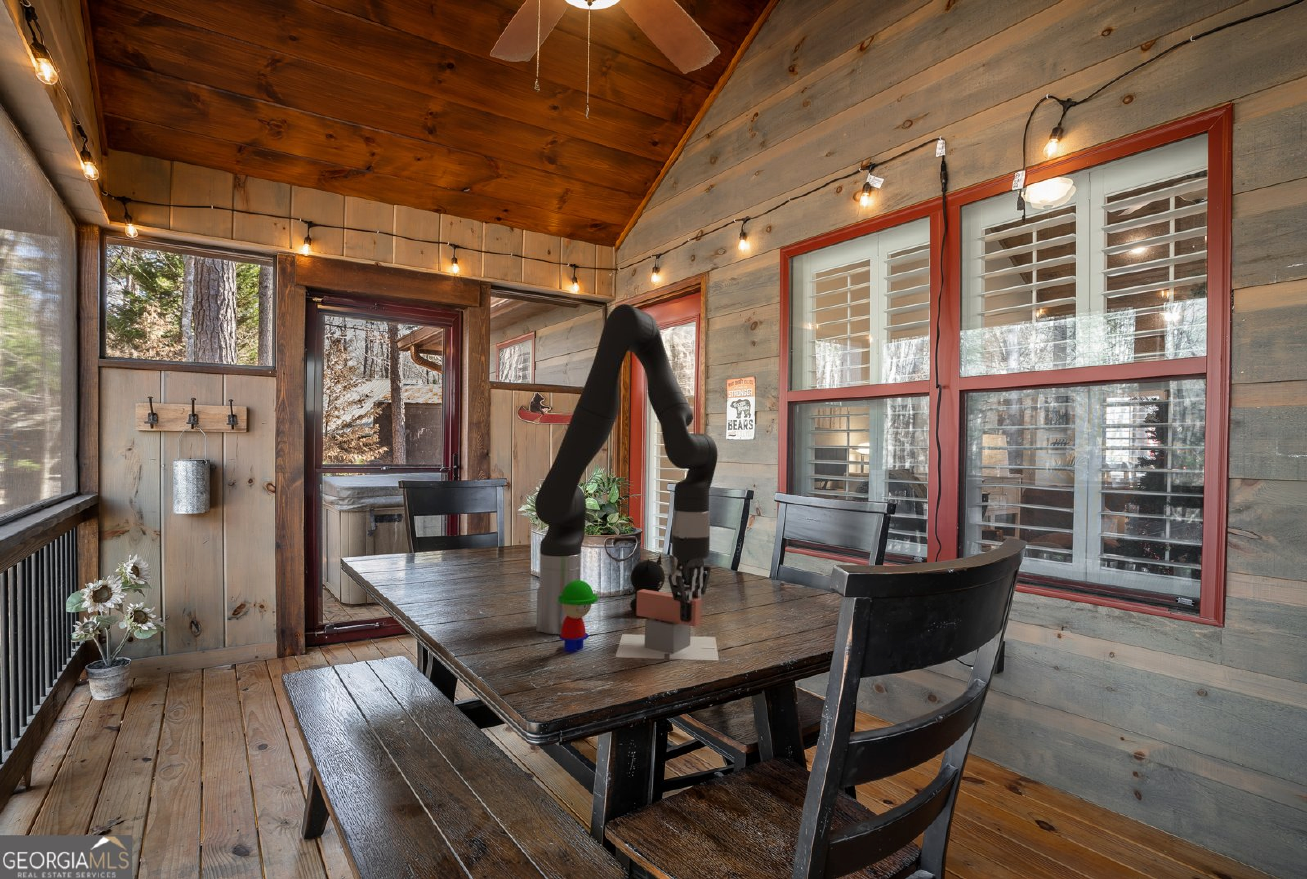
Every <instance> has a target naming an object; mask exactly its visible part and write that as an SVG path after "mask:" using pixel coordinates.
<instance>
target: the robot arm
mask: <svg viewBox="0 0 1307 879" xmlns="http://www.w3.org/2000/svg"><path fill="white" fill-rule="evenodd" d="M604 322H605V323H604V326H603V328H602V331H601V335H600V339H599V342H598V345H597V349H596V353H595V356H594V360H593V363H592V364H591V368H590V371H589V374H588V376H587V379H586V381H585V384H584V385H583V386H584V387H583V390H582V392H581V393H580V397H579V398H578V400H577V402H576V403H577V404H576V405H575V408H574V410H573V413H572V416H571V419H570V421H569V424H568V426H567V428H566V431H565V434H564V436H563V438H562V441H561V443H560V446H559V449H558V451H557V455H556V457H555V459H554V461H553V462H552V465H551V467H550V469H549V471H548V473H547V474H546V476H545V478H544V480H543V482H542V484H541V486H540V488H539V489H538V491H537V494H536V496H535V500H534V501H535V503H534V504H535V505H534V509H535V510H534V511H535V513H536V515H537V517H538V519H539V520H540V522H542V523H544V524H546V525H548V528H547V532H546V534H545V536H544V537H543V538H542V539H541V541H540V544H539V546H540V547H539V587H538V588H537V590H536V629H535V630H536V632H540V633H545V634H548V635H560V634H561V629H562V625H563V622H564V619H565V618H566V616H567V615H566V614H565V612H564V611H563V608H562V603H560V602H559V601H558V596H559V595H561V594H562V592H563V589H564V588H565V586H566V585H567V584H568V583H570V582H572V581H575V580H581V573H582V572H581V570H582V568H581V567H582V565H581V564H582V563H581V562H582V545H583V542H584V540H585V534H586V517H587V515H586V514H587V502H586V501H587V500H586V496H585V493H584V491H583V489H582V488H581V487H580V485H579V484H580V482H581V478H582V477H583V474H584V473H585V470H586V469H587V467H588V466H589V465H590V463H591V462H592V461H593V459H594V458H595V457H596V456H597V454H598V453H599V452H600V451H601V449H602V448H603V446H604V445H605V443H606V442H607V441H608V439H609V436H610V434H611V432H612V430H613V427H614V424H615V422H616V419H617V418H618V414H619V411H620V387H619V386H620V385H619V383H620V382H619V380H620V372H621V368H622V365H623V364H624V363H623V362H624V360H625V358H626V355H627V353H628V352H631V353H633V354H634V356H635V357H636V358H637V360H638V361H639V363H640V364H641V365H642V367H643V370H644V373H645V376H646V385H647V386H646V387H647V388H646V389H647V395H648V398H649V399H648V400H649V402H650V405H651V408H652V409H653V412H654V414H655V416H656V418H657V420H658V422H659V424H660V426H661V434H662V435H661V436H662V440H663V446H664V451H665V454H666V456H667V459H668V460H669V462H670V463H671V465H673V466H675V467H676V468H678V469H682V470H687V473H686V476H685V478H684V479H683V480H680V481H678V482H677V483H675V486H674V491H673V493H674V495H673V514H672V515H673V516H672V523H671V524H672V525H671V526H672V527H671V528H672V531H671V543H672V544H671V556H672V557H673V558H676V559H677V561H676V565H675V566H676V567H675V572H674V573H673V574H670V573H669V574H668V577H667V578H668V583H669V587H670V590H671V594H672V595H673V598H674V600H675V601H679V602H680V620H681V621H684V622H690V621H691V611H692V603H691V601H692V597H693V598H699V599H702V596H704V595H705V594H706V592H707V591H706V590H707V587H708V583H709V578H710V576H711V575H710V574H711V572H712V571H711V569H712V568H711V566H708V565H705V561H704V559H708V558H709V557H710V549H711V548H710V546H711V545H710V543H711V540H710V539H711V538H710V537H711V534H710V533H711V532H710V530H711V520H710V489H711V486H712V483H713V478H714V474H715V470H716V468H717V462H718V456H719V454H718V448H717V445H716V441H715V440H714V438H712V437H711V435H709V434H704V433H690V431H689V430H688V427H689V426H690V425H691V424H692V422H693V420H694V414H693V411H692V408H691V406H690V404H689V402H688V400H687V398H686V397H685V394H684V393H683V390H682V389H681V387H680V384H679V382H678V380H677V378H676V375H675V374H674V371H673V368H672V366H671V363H670V360H669V356H668V354H667V351H666V350H667V349H666V347H665V344H664V341H663V337H662V333H661V331H660V328H659V325H658V323H657V320H656V319H655V318H654V317H653V316H652V315H650V314H649V313H647V312H645V311H643V310H641V309H640V308H637V307H635V306H634V305H631V304H627V303H621V304H619V305H617V306H615V307H614V308H613V309H612V310H611V311H610V313H609V315H608V316H607V318H606V320H605V321H604ZM581 581H582V580H581Z"/></svg>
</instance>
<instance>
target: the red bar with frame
mask: <svg viewBox="0 0 1307 879" xmlns="http://www.w3.org/2000/svg"><path fill="white" fill-rule="evenodd" d="M691 603H692V611H691V621H690V622H684V621H681V620H680V602H679V601H675V600H674V598H673V595H672V593H668V592H663V591H659V592H657V591H651V590H645V589H642V590H639V591H637V613H636V615H635V616H637V615H638V616H637V617H640V616H643V617H642V618H648V619H644V635H645V647H644V648H649V649H653V650H657V651H662V652H666V653H671V654H674V653H676V652H678V651H680V650H682V649H684V648H686V647H688V646H690V636H692V635H691V632H692V631H691V630H692V629H691V628H692V627H694V628H696V627H697V626H700V625H702V607H703V606H702V604H703V603H702V598H701V599H699V598H693V597H692V601H691ZM661 620H663V621H668V622H674V624H669V623H664V622H660V621H661Z"/></svg>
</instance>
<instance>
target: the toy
mask: <svg viewBox="0 0 1307 879" xmlns="http://www.w3.org/2000/svg"><path fill="white" fill-rule="evenodd" d="M558 601H559V602H560V603H562V608H563V611H564V612H565V614H566V615H567V616H566V618H565V619H564V622H563V625H562V629H561V634H558V637H559V639H560V640H562V641H564V642H563V643H564V650H563V651H564V653H569V654H570V653H576V652H577V651H579V650H583V649H584V640H587V639H588V638H589V634H588V633H587V632H586V625H585V622H584V620H583V617H585V616H586V615H587V614H588V613H589V612H590V611H591V608H592V604H595V603H598V601H599V596H598V595H597V594H595V593H594V591H593V588H592V587H591V585H590V584H589V583H588V582H586V581H585V580H575V581H572V582H570V583H568V584H567V585H566V586H565V588H564V589H563V592H562V594H561V595H559V596H558Z"/></svg>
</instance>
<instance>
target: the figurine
mask: <svg viewBox="0 0 1307 879" xmlns="http://www.w3.org/2000/svg"><path fill="white" fill-rule="evenodd" d="M665 578H666V574H665V571H664V568H663V567H662V553H660V554H659V555H658V558H657V560H656V561H653V560H650V559H649V558H647V559H646V560H641V561H640V562H639V563H637V564H636V565H635V566H634V567H633V569H632V570H631V574H630V583H631V586H632V587H633V589H634V591H635V594H634V595H635V597H634V598H633V599H631V601H630V603H629V606H630V609H631V610H632V611H633V612H634V614H635V616H637V617H640V618H644V617H643V616H638V615H636V613H637V591H639V590H642V589H645V590H651V591H657V592H660V591H661V589H662V588H663V586H664V584H665V581H666V580H665Z"/></svg>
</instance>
